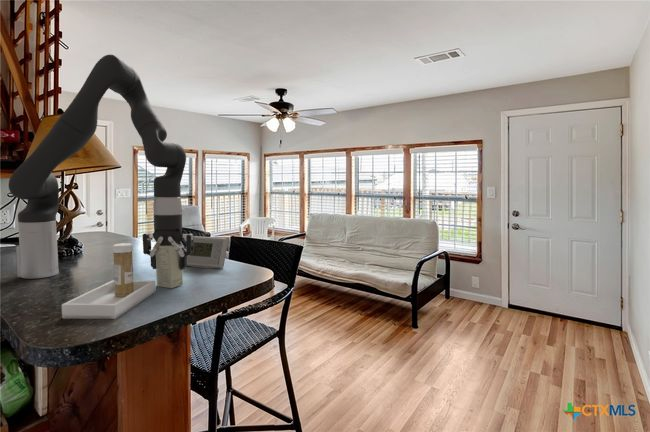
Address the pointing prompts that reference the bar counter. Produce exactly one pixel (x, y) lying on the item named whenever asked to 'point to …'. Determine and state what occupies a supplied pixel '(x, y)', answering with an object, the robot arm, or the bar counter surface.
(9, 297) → the bar counter surface
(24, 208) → the robot arm
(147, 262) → the bar counter surface
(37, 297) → the bar counter surface
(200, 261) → the digital clock
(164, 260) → the skincare box
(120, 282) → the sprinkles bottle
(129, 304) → the tray
